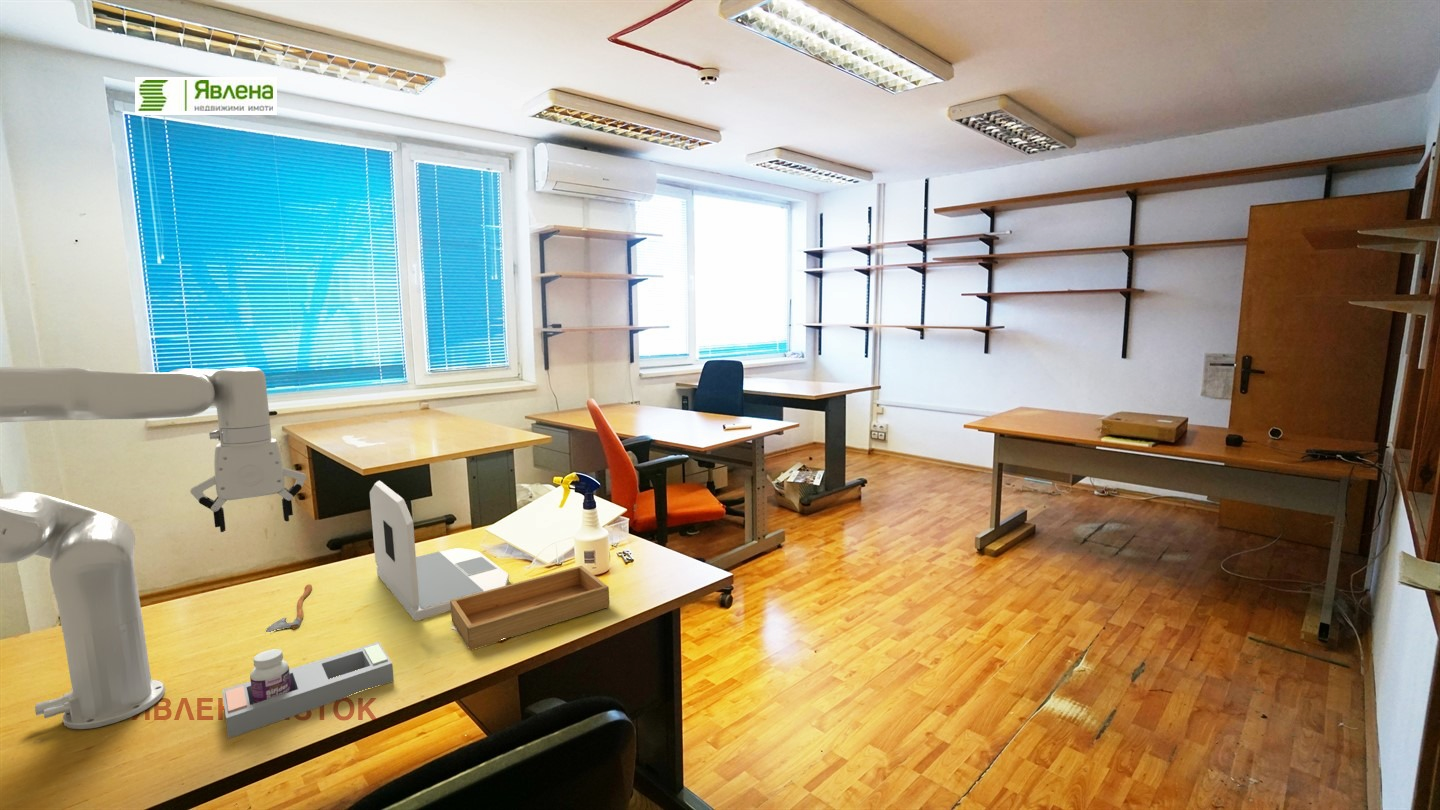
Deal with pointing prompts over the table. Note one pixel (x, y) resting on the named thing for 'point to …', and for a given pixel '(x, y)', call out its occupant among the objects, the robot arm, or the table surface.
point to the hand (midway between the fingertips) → (255, 524)
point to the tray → (527, 606)
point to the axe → (297, 621)
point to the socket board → (309, 688)
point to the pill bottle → (269, 676)
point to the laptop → (423, 561)
